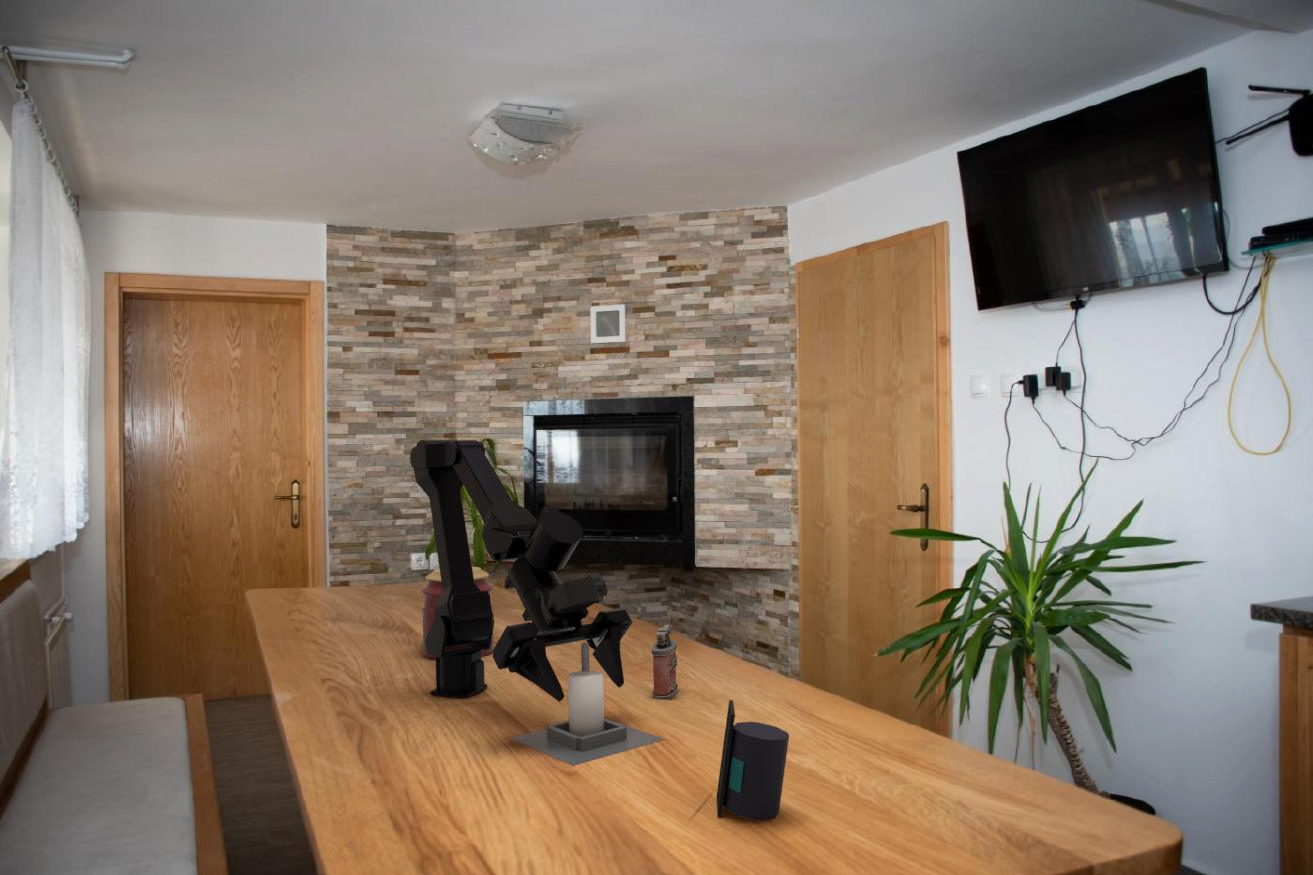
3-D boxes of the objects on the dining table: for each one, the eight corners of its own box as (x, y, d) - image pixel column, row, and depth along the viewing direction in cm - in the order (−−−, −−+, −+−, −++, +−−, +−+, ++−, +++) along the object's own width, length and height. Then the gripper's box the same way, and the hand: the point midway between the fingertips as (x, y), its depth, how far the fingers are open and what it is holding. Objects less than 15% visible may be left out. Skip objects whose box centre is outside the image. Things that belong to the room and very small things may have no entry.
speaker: (697, 814, 93) (707, 710, 93) (716, 797, 98) (726, 698, 99) (771, 833, 90) (781, 725, 90) (787, 814, 95) (796, 712, 96)
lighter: (671, 702, 135) (670, 633, 135) (648, 701, 136) (647, 632, 136) (681, 688, 143) (679, 622, 143) (659, 687, 144) (658, 622, 144)
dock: (509, 741, 118) (509, 726, 118) (598, 719, 127) (598, 704, 127) (573, 769, 108) (572, 752, 108) (665, 743, 117) (665, 727, 117)
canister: (509, 649, 173) (507, 554, 173) (459, 664, 162) (457, 562, 162) (458, 643, 180) (456, 551, 180) (406, 656, 169) (405, 558, 169)
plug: (563, 742, 116) (561, 645, 116) (578, 732, 120) (576, 638, 120) (595, 745, 115) (594, 647, 115) (609, 734, 119) (608, 640, 119)
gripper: (502, 561, 115) (554, 666, 106) (622, 548, 127) (678, 641, 118) (472, 617, 121) (519, 721, 112) (589, 599, 133) (639, 692, 124)
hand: (592, 692), depth 116 cm, fingers open, 9 cm apart
